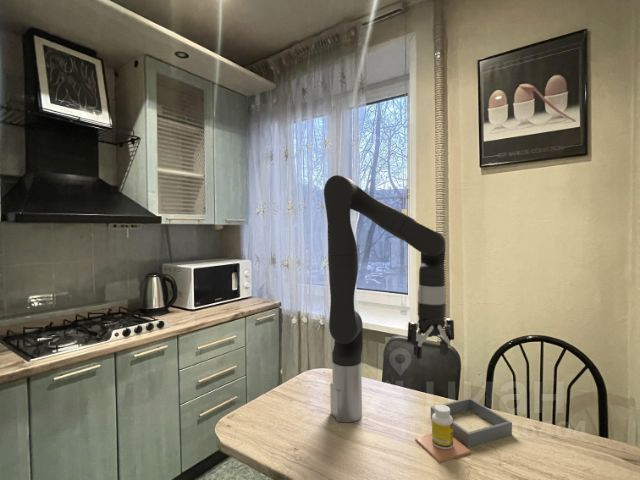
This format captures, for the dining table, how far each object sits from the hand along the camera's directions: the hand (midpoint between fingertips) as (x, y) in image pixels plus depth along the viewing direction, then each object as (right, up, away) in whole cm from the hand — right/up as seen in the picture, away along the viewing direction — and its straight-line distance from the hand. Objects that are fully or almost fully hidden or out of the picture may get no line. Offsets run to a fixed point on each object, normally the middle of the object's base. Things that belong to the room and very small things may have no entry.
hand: (430, 356), depth 99 cm
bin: (+12, -22, +3) cm, 25 cm away
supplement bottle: (+1, -22, -6) cm, 22 cm away
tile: (+1, -22, -7) cm, 23 cm away
